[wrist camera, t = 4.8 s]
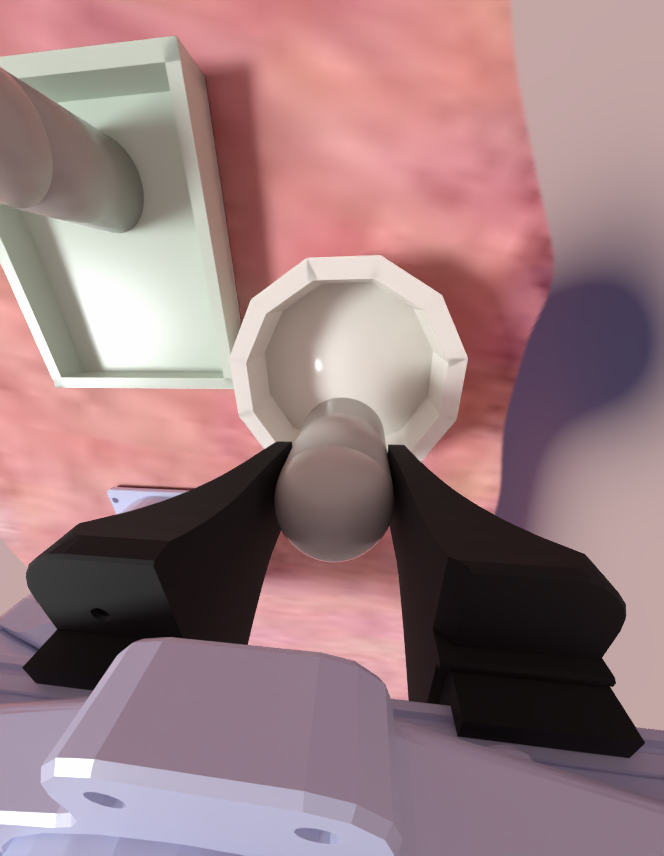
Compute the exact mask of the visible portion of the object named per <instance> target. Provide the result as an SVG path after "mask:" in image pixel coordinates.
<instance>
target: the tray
mask: <svg viewBox="0 0 664 856" xmlns="http://www.w3.org/2000/svg"><path fill="white" fill-rule="evenodd" d="M0 67H1V68H3V69H4V70H6V71H7V72H9V73H10V74H12V75H14V76H15V77H17V78H18V79H20V80H21V81H23V82H25V83H26V84H28V85H29V86H31V87H32V88H34V89H36V90H37V91H39V92H40V93H42V94H43V95H45V96H47V97H48V98H50V99H51V100H53V101H54V102H56V103H58V104H59V105H61V106H62V107H64V108H65V109H67V110H69V111H70V112H72V113H73V114H75V115H76V116H78V117H80V118H81V119H83V120H84V121H86V122H87V123H89V124H91V125H92V126H94V127H95V128H97V129H98V130H100V131H102V132H103V133H105V134H106V135H108V136H109V137H111V138H112V139H114V140H115V141H117V142H118V143H119V144H120V145H121V146H122V147H123V148H124V149H125V150H126V152H127V153H128V154H129V156H130V157H131V159H132V160H133V162H134V164H135V166H136V168H137V170H138V172H139V175H140V178H141V181H142V186H143V192H144V205H143V211H142V214H141V217H140V219H139V221H138V223H137V224H136V225H135V226H134V227H133V228H132V229H131V230H129V231H127V232H124V233H119V234H117V233H109V232H105V231H101V230H98V229H94V228H90V227H86V226H82V225H78V224H74V223H70V222H66V221H62V220H59V219H55V218H51V217H47V216H43V215H39V214H35V213H31V212H27V211H24V210H20V209H16V208H12V207H8V206H5V205H2V204H0V263H1V265H2V267H3V270H4V272H5V274H6V276H7V279H8V281H9V283H10V285H11V288H12V290H13V292H14V294H15V296H16V299H17V301H18V303H19V305H20V308H21V310H22V312H23V314H24V317H25V319H26V321H27V323H28V325H29V328H30V330H31V332H32V334H33V337H34V339H35V341H36V343H37V346H38V348H39V350H40V352H41V354H42V357H43V359H44V361H45V363H46V366H47V368H48V370H49V372H50V375H51V377H52V379H53V381H54V383H55V386H56V387H62V388H176V389H234V385H233V380H232V374H231V368H230V362H229V357H230V354H231V351H232V349H233V346H234V343H235V341H236V338H237V335H238V333H239V330H240V327H241V319H240V312H239V305H238V298H237V292H236V285H235V278H234V271H233V264H232V258H231V251H230V244H229V237H228V231H227V224H226V217H225V210H224V203H223V197H222V190H221V183H220V176H219V170H218V163H217V156H216V149H215V142H214V136H213V129H212V122H211V115H210V109H209V102H208V95H207V88H206V81H205V76H204V74H203V73H202V71H201V70H200V69H199V67H198V66H197V64H196V63H195V61H194V60H193V59H192V57H191V56H190V54H189V53H188V52H187V50H186V49H185V47H184V46H183V45H182V43H181V42H180V40H179V39H178V38H177V36H169V37H161V38H153V39H144V40H136V41H128V42H119V43H111V44H103V45H94V46H86V47H78V48H70V49H61V50H53V51H45V52H36V53H28V54H20V55H12V56H3V57H0Z"/></svg>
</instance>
